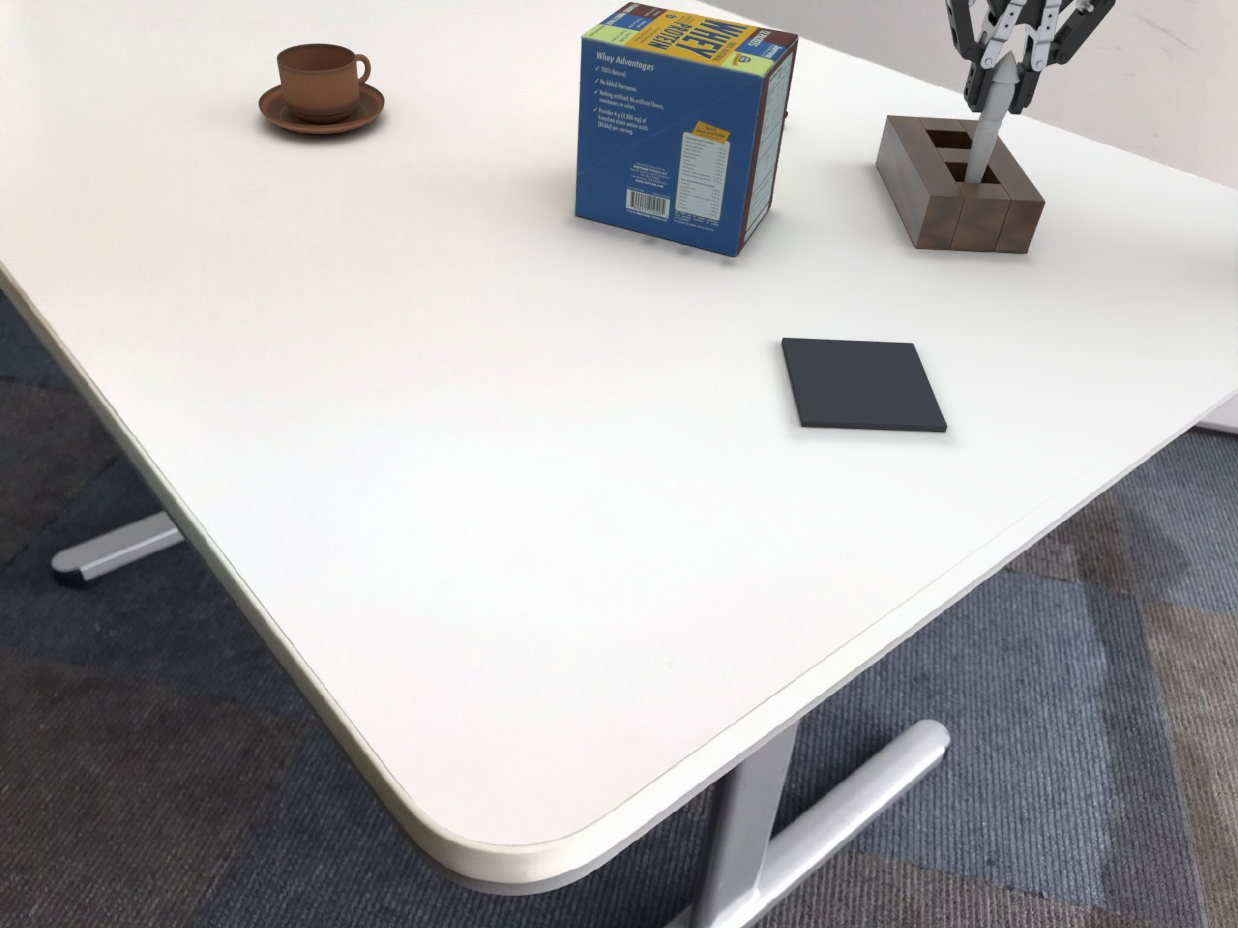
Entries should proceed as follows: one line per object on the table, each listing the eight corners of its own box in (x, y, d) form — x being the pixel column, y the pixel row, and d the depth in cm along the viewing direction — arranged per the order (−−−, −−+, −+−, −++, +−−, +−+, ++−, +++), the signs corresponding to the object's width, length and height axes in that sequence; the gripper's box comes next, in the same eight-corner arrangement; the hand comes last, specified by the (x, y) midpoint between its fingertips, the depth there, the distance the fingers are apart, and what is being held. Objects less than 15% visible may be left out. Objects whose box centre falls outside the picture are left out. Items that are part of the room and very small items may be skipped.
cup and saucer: (306, 88, 107) (298, 27, 103) (408, 110, 104) (403, 49, 100) (236, 129, 98) (224, 65, 94) (344, 155, 96) (336, 90, 92)
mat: (911, 348, 77) (913, 342, 77) (945, 432, 70) (948, 426, 69) (781, 342, 77) (782, 337, 76) (801, 426, 69) (802, 420, 69)
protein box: (617, 170, 97) (628, -1, 87) (772, 208, 93) (802, 33, 83) (570, 216, 89) (577, 34, 79) (737, 259, 86) (766, 74, 75)
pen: (980, 216, 91) (1030, 57, 82) (950, 213, 91) (997, 54, 82) (976, 203, 93) (1025, 47, 84) (947, 200, 93) (992, 43, 84)
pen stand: (973, 168, 102) (988, 120, 99) (1027, 254, 90) (1046, 201, 86) (875, 163, 102) (887, 114, 98) (915, 248, 89) (930, 195, 86)
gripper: (983, -114, 72) (922, 124, 83) (1177, -103, 72) (1090, 132, 84) (955, -137, 77) (902, 89, 89) (1135, -127, 78) (1059, 97, 89)
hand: (993, 109), depth 86 cm, fingers closed on pen, 2 cm apart
